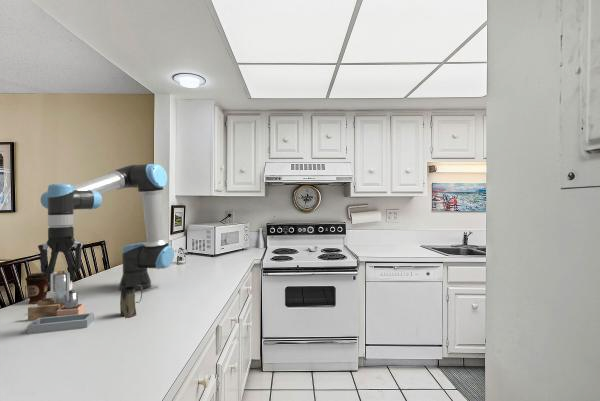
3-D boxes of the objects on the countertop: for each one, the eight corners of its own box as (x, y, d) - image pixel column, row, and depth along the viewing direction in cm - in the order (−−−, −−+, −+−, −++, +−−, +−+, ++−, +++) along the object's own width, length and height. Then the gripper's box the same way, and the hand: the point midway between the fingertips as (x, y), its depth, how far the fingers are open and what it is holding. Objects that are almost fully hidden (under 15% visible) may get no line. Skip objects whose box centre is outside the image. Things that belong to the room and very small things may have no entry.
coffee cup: (35, 305, 144) (34, 276, 144) (20, 304, 146) (19, 275, 146) (53, 299, 153) (53, 272, 153) (39, 298, 154) (39, 271, 154)
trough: (94, 321, 125) (93, 312, 125) (87, 329, 118) (87, 320, 118) (38, 327, 120) (38, 318, 120) (27, 335, 112) (27, 326, 112)
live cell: (71, 298, 121) (70, 269, 121) (66, 302, 117) (66, 272, 117) (57, 299, 120) (56, 270, 120) (52, 303, 116) (51, 273, 116)
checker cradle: (69, 310, 137) (69, 296, 137) (60, 319, 127) (59, 303, 127) (38, 313, 134) (38, 298, 134) (26, 322, 124) (26, 306, 124)
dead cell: (79, 315, 130) (79, 288, 130) (75, 319, 125) (75, 291, 125) (67, 316, 128) (66, 289, 128) (62, 320, 124) (62, 292, 124)
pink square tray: (84, 315, 131) (84, 303, 131) (78, 321, 125) (78, 308, 125) (64, 317, 129) (64, 305, 129) (57, 324, 123) (56, 310, 122)
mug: (118, 318, 127) (118, 288, 127) (122, 313, 133) (122, 284, 133) (140, 316, 129) (140, 286, 129) (143, 312, 135) (143, 283, 135)
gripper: (91, 224, 125) (92, 285, 125) (37, 226, 120) (38, 289, 120) (84, 226, 117) (85, 291, 117) (27, 228, 112) (27, 295, 112)
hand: (61, 290), depth 119 cm, fingers closed on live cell, 4 cm apart
